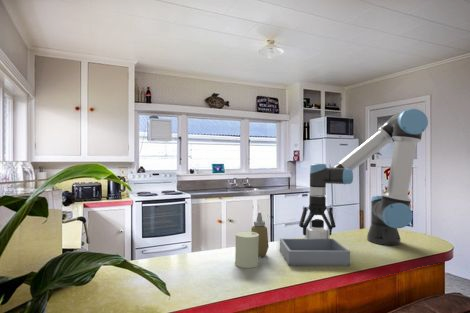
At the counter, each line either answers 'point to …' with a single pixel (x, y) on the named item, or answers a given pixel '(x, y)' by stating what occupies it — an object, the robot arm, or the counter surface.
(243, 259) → the can
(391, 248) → the counter surface
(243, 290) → the counter surface
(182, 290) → the counter surface
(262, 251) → the squeeze bottle
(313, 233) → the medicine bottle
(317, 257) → the grey box
